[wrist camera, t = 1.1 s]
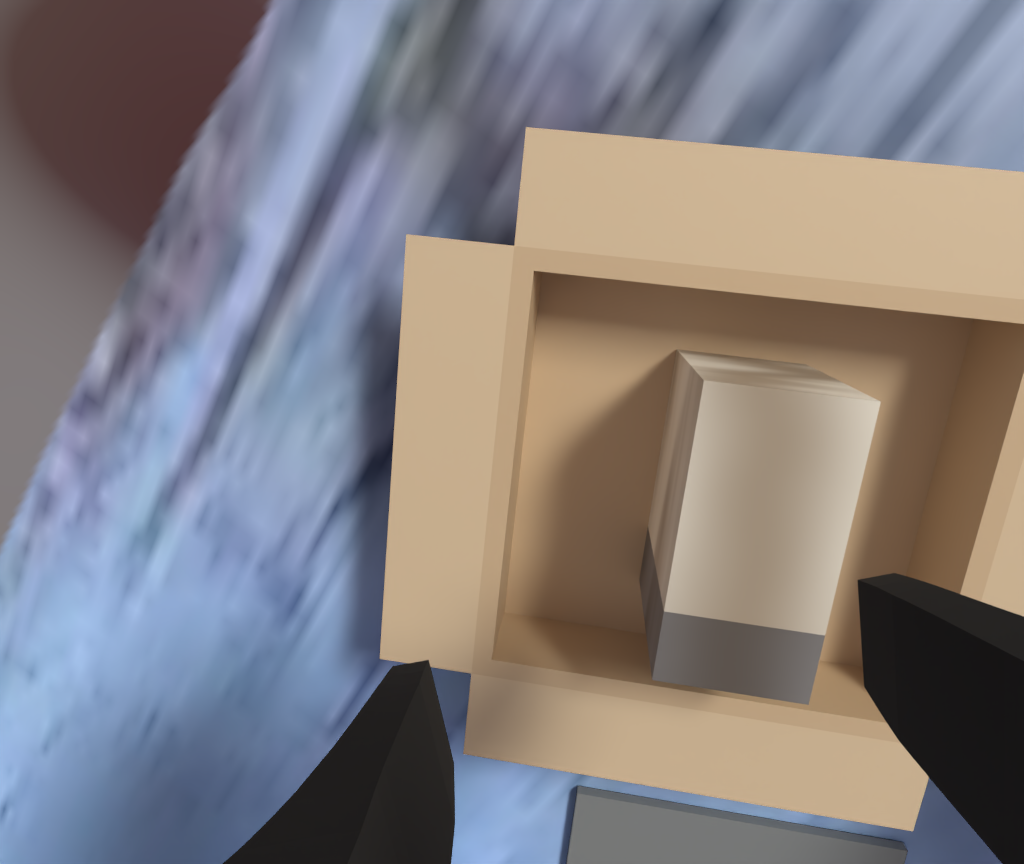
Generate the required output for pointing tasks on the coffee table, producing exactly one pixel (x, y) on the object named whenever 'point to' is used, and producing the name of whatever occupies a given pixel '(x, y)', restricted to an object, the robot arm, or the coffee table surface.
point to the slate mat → (706, 836)
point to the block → (750, 522)
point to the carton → (639, 429)
